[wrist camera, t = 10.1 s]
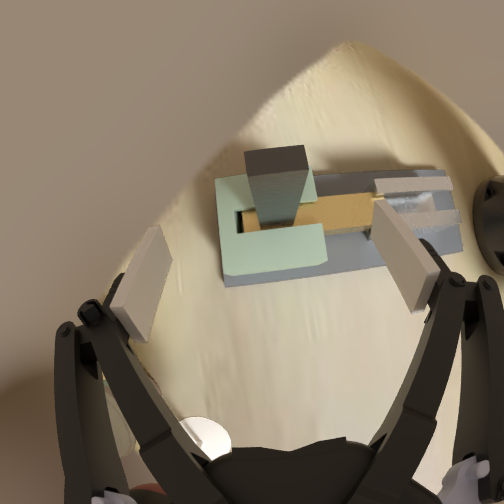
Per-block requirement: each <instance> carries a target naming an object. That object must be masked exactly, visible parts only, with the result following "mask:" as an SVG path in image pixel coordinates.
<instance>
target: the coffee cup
mask: <svg viewBox="0 0 504 504" xmlns="http://www.w3.org/2000/svg"><path fill="white" fill-rule="evenodd" d="M148 377H149V376H148ZM149 378H150V380H151V382H152V383H153V385H154V386H155V388H156V389H157V391H158V393H159V394H160V396H161V392H160V389H159V387H158V385H157V384H156V382H155V381H154V380H153V379H152V378H151V377H149ZM103 383H104V389H105V395H106V401H107V406H108V412H109V416H110V421H111V426H112V430H113V434H114V438H115V442H116V446H117V450H118V453H119V457H120V458H122V457H124V456H126V455H128V454H129V453H131V452H132V451H133V449H134V447H135V444H136V438H135V436H134V435H133V433H132V431H131V429H130V427H129V426H128V424H127V422H126V420H125V418H124V416H123V414H122V412H121V410H120V409H119V407H118V404H117V402H116V400H115V398H114V396H113V394H112V392H111V390H110V388H109V385H108V383H107V381H106V380H103Z"/></svg>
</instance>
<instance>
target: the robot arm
mask: <svg viewBox="0 0 504 504" xmlns="http://www.w3.org/2000/svg"><path fill="white" fill-rule="evenodd" d="M473 219H474V227H475V233H476V237H477V241H478V244H479V247H480V249H481V252H482V254H483V256H484V258H485V260H486V261H487V263H488V264H489V266H490V267H491V268H492V269H493V270H494V271H495V272H497V273H498V274H500V275H504V175H503V176H494V177H491V178H489V179H488V180H486V181H484V182H483V183H482V184H481V185H480V186H479V187H478V189H477V191H476V194H475V198H474V204H473ZM370 238H371V240H372V241H373V243H374V245H375V246H376V248H377V250H378V252H379V253H380V255H381V257H382V259H383V260H384V262H385V264H386V266H387V268H388V269H389V271H390V273H391V275H392V277H393V279H394V281H395V282H396V284H397V286H398V288H399V290H400V292H401V294H402V296H403V298H404V300H405V302H406V304H407V306H408V308H409V310H410V312H411V314H415V313H419V312H424V310H425V308H426V305H427V303H428V305H429V307H430V311H429V313H428V315H427V317H426V319H425V321H424V323H425V326H424V329H423V332H422V335H421V338H420V341H419V344H418V346H417V349H416V352H415V354H414V357H413V359H412V362H411V364H410V367H409V369H408V372H407V374H406V376H405V379H404V381H403V383H402V385H401V388H400V390H399V392H398V394H397V396H396V398H395V400H394V402H393V404H392V406H391V408H390V410H389V412H388V414H387V416H386V418H385V420H384V422H383V423H382V425H381V427H380V428H379V430H378V431H377V433H376V434H375V435H374V437H373V438H372V440H371V441H370V443H369V445H368V446H367V445H365V444H362V443H358V442H353V441H346V437H340V438H335V439H330V440H324V441H318V442H315V443H313V444H310V445H307V446H305V447H302V448H299V449H296V450H293V451H281V450H274V449H268V448H262V447H244V448H232V452H230V453H227V454H224V455H221V456H219V457H217V458H215V459H214V460H211V459H210V458H209V457H208V456H207V455H206V454H205V453H204V452H203V451H202V450H201V449H200V448H199V447H198V446H197V445H196V444H195V442H194V441H193V440H192V439H191V437H190V436H189V435H188V433H187V432H186V431H185V429H184V428H183V427H182V426H181V424H180V423H179V421H178V420H177V419H176V417H175V416H174V415H173V413H172V412H171V410H170V409H169V407H168V406H167V405H166V403H165V402H164V400H163V399H162V397H161V396H160V394H159V393H158V391H157V389H156V388H155V386H154V385H153V383H152V382H151V380H150V378H149V377H148V375H147V373H146V372H145V370H144V368H143V367H142V365H141V363H140V362H139V360H138V358H137V356H136V355H135V353H134V351H133V349H132V347H131V346H130V344H129V343H128V340H129V337H131V338H132V340H133V341H134V342H135V343H148V339H149V335H150V332H151V328H152V325H153V321H154V318H155V314H156V311H157V307H158V304H159V301H160V298H161V294H162V291H163V288H164V285H165V282H166V279H167V276H168V272H169V269H170V266H171V263H172V261H173V259H172V257H171V254H170V252H169V249H168V246H167V244H166V241H165V238H164V236H163V233H162V230H161V227H160V225H157V226H151V227H148V229H147V231H146V233H145V235H144V237H143V238H142V240H141V242H140V244H139V246H138V248H137V250H136V252H135V254H134V256H133V258H132V260H131V262H130V264H129V266H128V268H127V270H126V272H125V273H120V274H119V276H118V277H117V278H116V279H115V280H114V282H113V284H112V286H111V287H112V288H110V290H109V293H108V295H107V297H106V299H105V301H104V303H103V305H102V306H101V304H100V303H99V302H98V300H95V299H91V300H88V301H86V302H85V303H84V304H82V305H81V307H80V308H79V310H78V312H77V313H78V317H79V319H80V320H81V321H82V323H83V324H84V325H81V326H78V327H76V326H75V325H74V323H73V322H70V321H68V322H65V323H63V324H62V325H61V326H60V327H59V328H58V330H57V332H56V339H55V357H54V394H55V412H56V424H57V433H58V441H59V448H60V454H61V460H62V465H63V470H64V475H65V489H64V504H137V503H136V501H135V500H134V499H133V498H131V497H130V493H129V488H128V483H127V480H126V476H125V473H124V470H123V467H122V463H121V460H120V457H119V453H118V450H117V446H116V442H115V438H114V434H113V430H112V426H111V421H110V416H109V412H108V406H107V401H106V395H105V389H104V383H103V376H102V371H103V374H104V376H105V378H106V381H107V383H108V385H109V388H110V390H111V392H112V394H113V396H114V398H115V400H116V402H117V404H118V407H119V409H120V410H121V412H122V414H123V416H124V418H125V420H126V422H127V424H128V426H129V427H130V429H131V431H132V433H133V435H134V436H135V438H136V440H137V441H138V443H139V445H140V450H139V453H140V456H141V458H142V459H143V461H144V463H145V464H146V466H147V467H148V469H149V470H150V472H151V473H152V475H153V476H154V478H155V479H156V481H157V482H158V483H159V485H160V486H161V488H162V489H163V490H164V492H165V493H166V494H167V496H168V497H169V498H170V500H171V501H170V502H169V503H168V504H492V503H497V502H500V501H503V500H504V309H503V304H502V300H501V296H500V292H499V288H498V285H497V283H496V281H495V280H494V279H493V278H491V277H490V276H487V275H482V276H480V277H479V279H478V281H477V283H476V282H466V280H465V278H464V277H463V276H462V275H460V274H458V273H456V272H451V271H450V269H449V268H448V267H447V265H446V264H445V262H444V261H443V260H442V258H441V257H440V256H439V254H438V253H437V252H436V251H435V249H434V248H433V246H432V245H431V244H430V243H429V242H428V241H426V240H425V239H423V238H420V239H418V238H417V237H416V236H415V234H414V233H413V232H412V231H411V229H410V228H409V227H408V226H407V224H406V223H405V222H404V221H403V219H402V218H401V217H400V216H399V215H398V213H397V212H396V211H395V210H394V209H393V208H392V206H391V205H390V204H389V203H388V202H387V201H386V199H381V200H374V209H373V218H372V227H371V235H370ZM460 330H461V349H462V370H461V393H460V405H459V414H458V422H457V429H456V436H455V442H454V449H453V458H452V467H451V468H450V469H449V470H448V472H447V473H446V475H445V477H444V478H443V480H442V485H443V487H442V489H441V491H440V492H439V493H438V495H437V496H436V495H435V494H434V493H432V492H431V491H429V490H428V489H426V488H425V487H424V486H422V485H421V484H419V483H418V482H416V481H415V480H414V479H412V477H413V475H414V473H415V471H416V469H417V467H418V466H419V464H420V462H421V460H422V458H423V456H424V454H425V452H426V449H427V447H428V445H429V443H430V441H431V438H432V436H433V434H434V432H435V429H436V426H437V421H436V419H435V417H436V414H437V411H438V408H439V406H440V403H441V400H442V397H443V394H444V391H445V388H446V385H447V382H448V379H449V375H450V372H451V368H452V365H453V361H454V357H455V353H456V349H457V344H458V340H459V335H460Z"/></svg>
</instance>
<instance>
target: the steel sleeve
mask: <svg viewBox="0 0 504 504" xmlns="http://www.w3.org/2000/svg"><path fill="white" fill-rule="evenodd" d="M452 190H453V186H452V182H451V179H450V176H442V177H402V178H381V179H374V180H373V181H372V182H371V183H370V184H369V185H368V187H367V188H366V189H365V190H364V191H363V192H362V193H368V192H375V194H376V196H377V195H384V199H386V201H387V202H388V203H389V204H390V205H391V206H392V208H393V209H394V210H395V211H396V212H397V213H398V215H399V216H400V217H401V218H402V219H403V221H404V222H405V223H406V224H407V226H408V227H409V228H410V229H411V231H412V232H413V233H414V234H415V235H418V234H425V233H432V232H439V231H441V230H444V229H447V228H449V227H452V226H454V225H457V224H460V223H462V221H461V217H460V213H459V209H452V210H441V211H436V208H435V204H434V200H433V196H432V194H433V193H434V192H440V191H452ZM366 232H367V237H368V241H372V240H371V238H370V235H371V230H369V231H366Z"/></svg>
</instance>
